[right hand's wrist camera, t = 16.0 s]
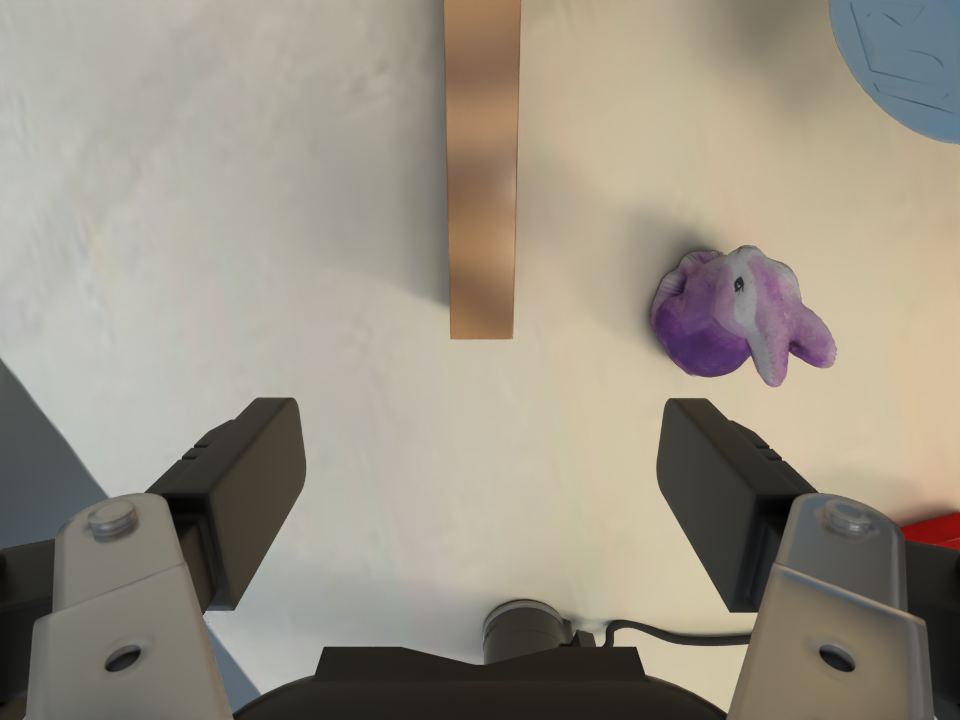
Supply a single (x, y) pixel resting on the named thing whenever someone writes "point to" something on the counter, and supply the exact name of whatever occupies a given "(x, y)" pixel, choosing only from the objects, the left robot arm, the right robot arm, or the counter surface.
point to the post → (481, 163)
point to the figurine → (737, 316)
